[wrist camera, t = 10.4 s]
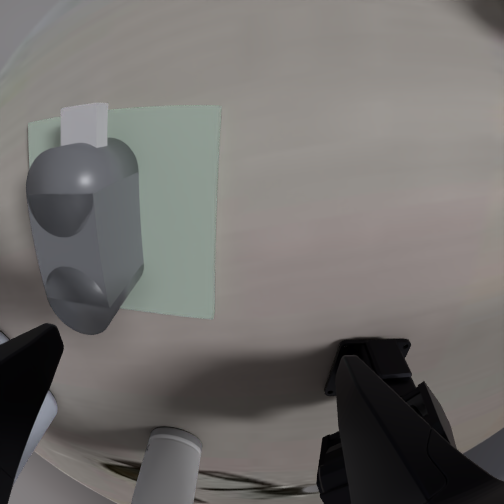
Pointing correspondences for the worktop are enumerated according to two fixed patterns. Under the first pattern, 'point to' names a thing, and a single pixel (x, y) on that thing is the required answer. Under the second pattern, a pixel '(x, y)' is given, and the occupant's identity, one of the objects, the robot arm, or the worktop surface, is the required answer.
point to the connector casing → (86, 220)
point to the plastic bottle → (36, 422)
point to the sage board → (166, 200)
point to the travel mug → (168, 468)
